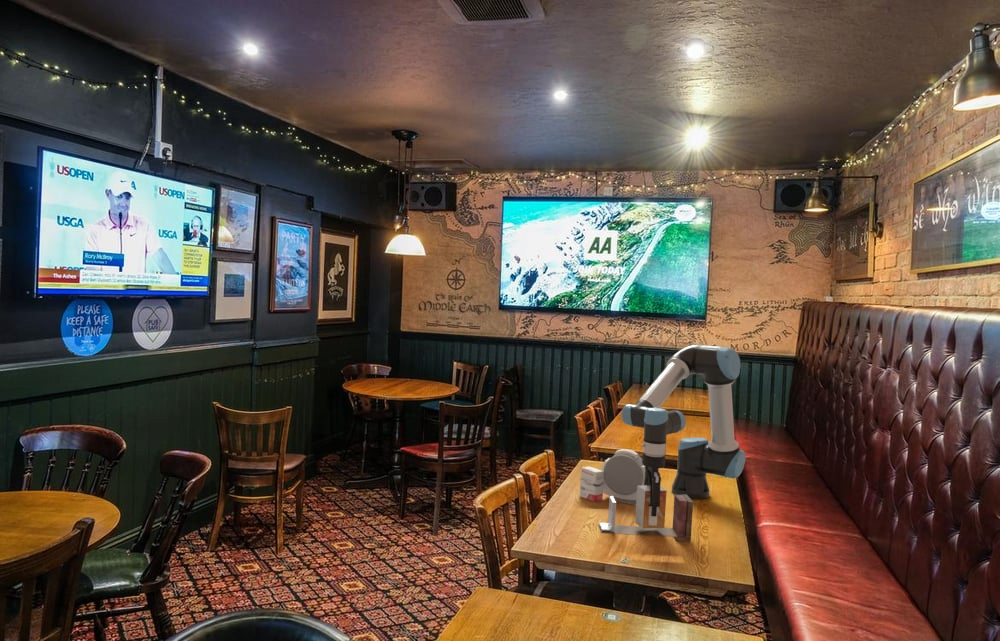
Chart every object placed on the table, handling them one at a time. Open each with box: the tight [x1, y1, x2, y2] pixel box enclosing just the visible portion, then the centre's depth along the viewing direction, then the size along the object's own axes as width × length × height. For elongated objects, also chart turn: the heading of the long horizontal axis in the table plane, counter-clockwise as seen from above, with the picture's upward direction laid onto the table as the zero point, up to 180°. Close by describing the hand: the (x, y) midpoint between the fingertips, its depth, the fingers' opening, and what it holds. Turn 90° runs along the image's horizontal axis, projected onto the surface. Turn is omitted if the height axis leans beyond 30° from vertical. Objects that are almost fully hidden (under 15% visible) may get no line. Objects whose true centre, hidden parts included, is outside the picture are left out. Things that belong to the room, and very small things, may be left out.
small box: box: [635, 485, 668, 529], centre depth 221 cm, size 8×6×13 cm
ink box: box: [579, 466, 604, 503], centre depth 258 cm, size 8×5×12 cm, turn 38°
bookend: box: [599, 496, 617, 532], centre depth 221 cm, size 4×7×10 cm, turn 179°
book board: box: [597, 494, 694, 543], centre depth 221 cm, size 30×8×14 cm, turn 89°
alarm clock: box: [600, 448, 645, 506], centre depth 257 cm, size 18×8×20 cm, turn 64°
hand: (650, 520), depth 221 cm, fingers closed on small box, 7 cm apart
